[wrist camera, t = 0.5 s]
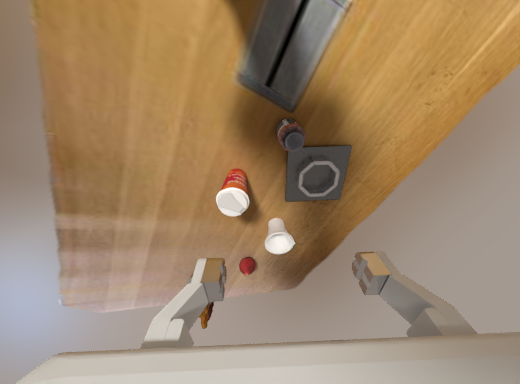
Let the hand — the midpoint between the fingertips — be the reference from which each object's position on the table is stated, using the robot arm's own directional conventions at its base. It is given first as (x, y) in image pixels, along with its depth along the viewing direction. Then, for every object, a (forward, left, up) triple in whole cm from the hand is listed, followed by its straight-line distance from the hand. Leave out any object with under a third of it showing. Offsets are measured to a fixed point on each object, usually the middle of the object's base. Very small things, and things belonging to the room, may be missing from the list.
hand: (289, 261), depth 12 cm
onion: (+50, -7, -42) cm, 65 cm away
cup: (+33, +4, -42) cm, 53 cm away
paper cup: (+15, -8, -42) cm, 45 cm away
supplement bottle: (+2, +6, -42) cm, 42 cm away
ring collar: (+15, +15, -42) cm, 47 cm away
